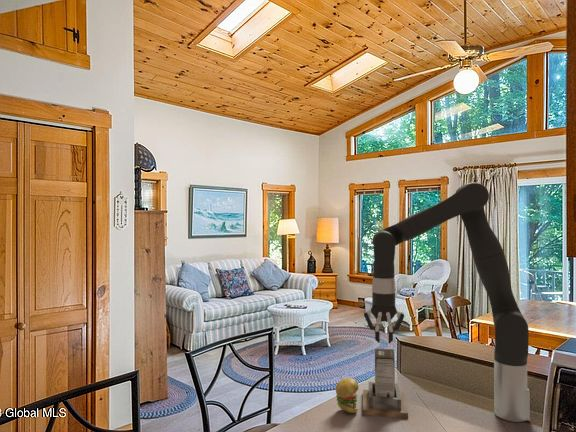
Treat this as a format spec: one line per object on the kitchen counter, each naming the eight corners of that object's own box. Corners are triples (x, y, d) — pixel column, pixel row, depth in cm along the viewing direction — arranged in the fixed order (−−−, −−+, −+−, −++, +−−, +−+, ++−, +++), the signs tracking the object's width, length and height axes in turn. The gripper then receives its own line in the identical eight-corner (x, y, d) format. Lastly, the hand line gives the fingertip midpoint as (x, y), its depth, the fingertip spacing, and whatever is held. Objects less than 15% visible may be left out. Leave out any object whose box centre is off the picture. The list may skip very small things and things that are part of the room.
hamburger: (363, 415, 136) (363, 377, 136) (343, 419, 133) (343, 381, 133) (350, 405, 143) (350, 369, 143) (331, 409, 140) (331, 372, 140)
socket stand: (403, 396, 150) (403, 382, 150) (408, 418, 134) (408, 402, 134) (362, 393, 152) (362, 379, 152) (362, 414, 136) (362, 399, 136)
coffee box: (374, 394, 148) (374, 347, 148) (393, 395, 147) (393, 348, 147) (375, 406, 139) (375, 356, 139) (395, 407, 138) (395, 357, 138)
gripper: (404, 289, 145) (404, 340, 145) (362, 288, 148) (362, 338, 148) (406, 293, 138) (406, 346, 138) (362, 292, 140) (362, 344, 140)
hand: (383, 342), depth 143 cm, fingers open, 3 cm apart
